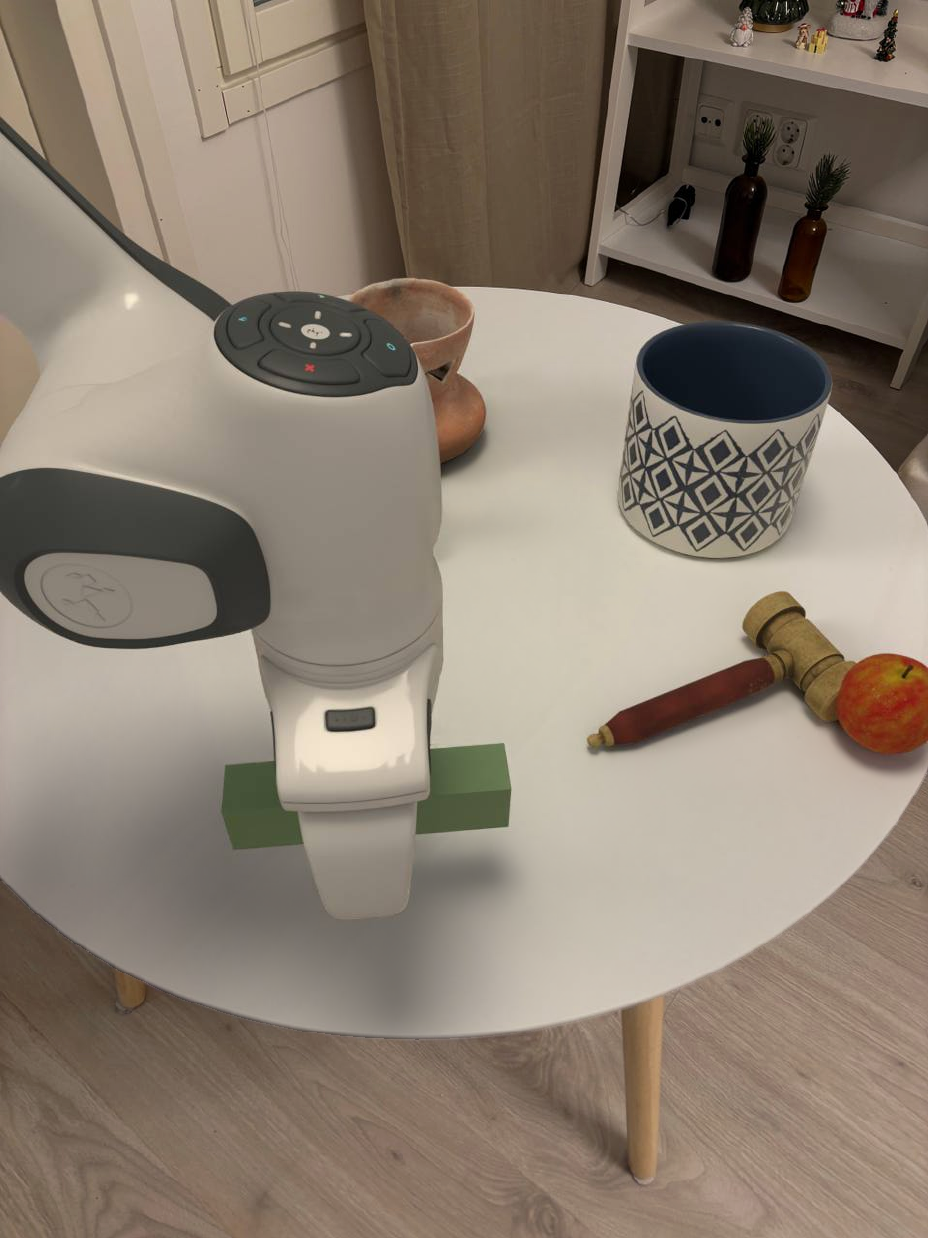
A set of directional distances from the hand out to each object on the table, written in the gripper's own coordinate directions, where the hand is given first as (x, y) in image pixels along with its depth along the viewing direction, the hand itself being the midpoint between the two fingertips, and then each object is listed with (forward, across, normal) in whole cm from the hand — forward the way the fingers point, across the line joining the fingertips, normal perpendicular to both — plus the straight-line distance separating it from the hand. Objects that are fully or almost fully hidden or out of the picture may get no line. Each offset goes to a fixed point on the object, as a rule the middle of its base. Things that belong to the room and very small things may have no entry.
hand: (369, 799), depth 54 cm
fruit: (+9, -8, +37) cm, 38 cm away
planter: (+9, -35, +32) cm, 48 cm away
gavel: (+9, -12, +25) cm, 29 cm away
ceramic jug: (+9, -49, +6) cm, 50 cm away
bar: (+2, 0, 0) cm, 2 cm away
